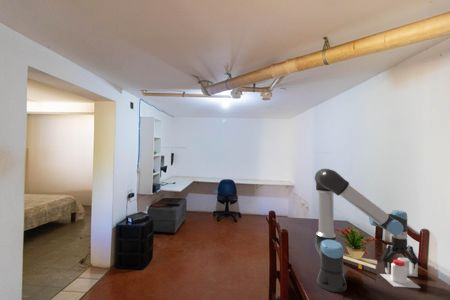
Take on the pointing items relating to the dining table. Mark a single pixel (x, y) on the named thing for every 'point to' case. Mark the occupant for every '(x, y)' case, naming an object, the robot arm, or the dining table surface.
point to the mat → (396, 284)
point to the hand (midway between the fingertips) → (399, 273)
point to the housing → (408, 266)
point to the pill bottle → (399, 271)
